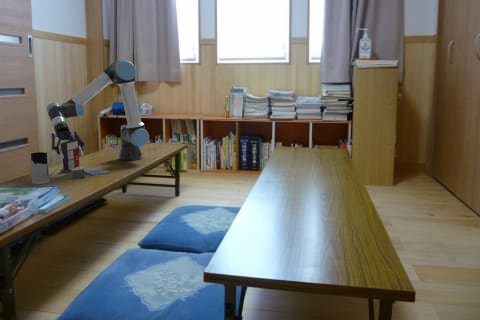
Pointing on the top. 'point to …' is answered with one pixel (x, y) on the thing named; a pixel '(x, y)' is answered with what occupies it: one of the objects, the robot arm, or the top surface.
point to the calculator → (70, 154)
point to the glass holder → (40, 168)
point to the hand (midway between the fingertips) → (72, 157)
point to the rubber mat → (96, 171)
